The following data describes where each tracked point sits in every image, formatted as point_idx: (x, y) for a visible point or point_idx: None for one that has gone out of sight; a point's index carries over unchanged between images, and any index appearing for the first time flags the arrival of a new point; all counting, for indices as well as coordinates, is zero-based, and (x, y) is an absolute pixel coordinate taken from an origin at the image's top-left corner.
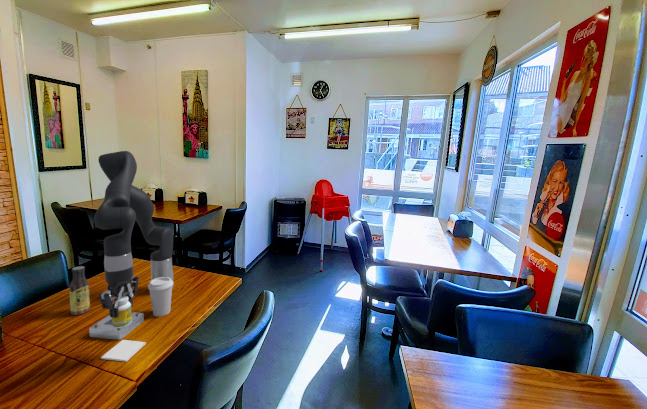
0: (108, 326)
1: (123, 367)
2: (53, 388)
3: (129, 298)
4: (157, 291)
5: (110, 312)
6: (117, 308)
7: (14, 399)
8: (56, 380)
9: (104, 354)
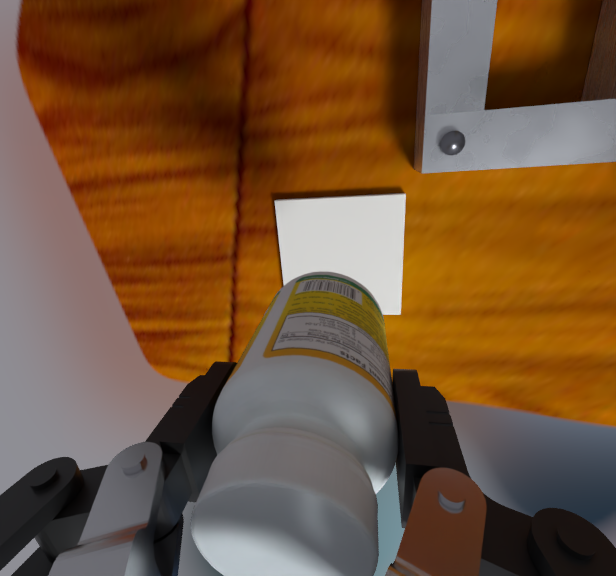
0: (473, 34)
1: None
2: (115, 165)
3: (407, 515)
4: None
5: (170, 420)
6: (201, 486)
7: (32, 73)
8: (139, 133)
9: (293, 199)
